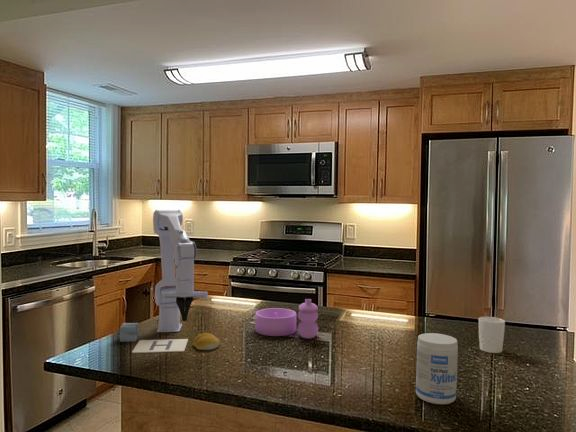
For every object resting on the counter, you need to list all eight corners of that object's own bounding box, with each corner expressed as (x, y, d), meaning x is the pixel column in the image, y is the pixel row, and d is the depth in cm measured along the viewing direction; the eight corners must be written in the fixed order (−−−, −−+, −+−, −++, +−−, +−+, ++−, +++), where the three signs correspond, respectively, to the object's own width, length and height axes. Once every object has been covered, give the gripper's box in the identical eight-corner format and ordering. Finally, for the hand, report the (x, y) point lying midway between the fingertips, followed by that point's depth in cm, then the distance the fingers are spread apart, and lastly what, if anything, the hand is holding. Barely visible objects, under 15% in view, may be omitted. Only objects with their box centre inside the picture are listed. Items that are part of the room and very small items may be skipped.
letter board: (139, 341, 151) (139, 340, 151) (188, 339, 153) (188, 338, 153) (131, 353, 139) (131, 352, 139) (184, 351, 141) (184, 350, 141)
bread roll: (199, 352, 141) (199, 340, 141) (190, 344, 149) (190, 332, 149) (223, 348, 145) (223, 336, 145) (214, 340, 153) (214, 329, 153)
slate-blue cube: (123, 337, 155) (123, 323, 155) (138, 337, 156) (138, 322, 155) (119, 341, 150) (119, 327, 150) (135, 341, 151) (135, 326, 151)
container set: (246, 331, 164) (247, 295, 163) (270, 322, 176) (270, 289, 176) (306, 343, 150) (306, 305, 150) (326, 332, 163) (327, 297, 163)
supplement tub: (434, 408, 104) (435, 346, 103) (407, 392, 112) (408, 334, 112) (465, 401, 108) (466, 341, 107) (437, 386, 116) (438, 330, 116)
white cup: (483, 344, 152) (484, 315, 151) (507, 350, 146) (508, 319, 146) (473, 349, 146) (474, 319, 146) (498, 355, 140) (499, 324, 140)
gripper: (160, 281, 141) (160, 324, 142) (206, 281, 143) (206, 323, 143) (163, 277, 148) (163, 318, 149) (207, 277, 150) (207, 317, 150)
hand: (184, 320), depth 147 cm, fingers closed
